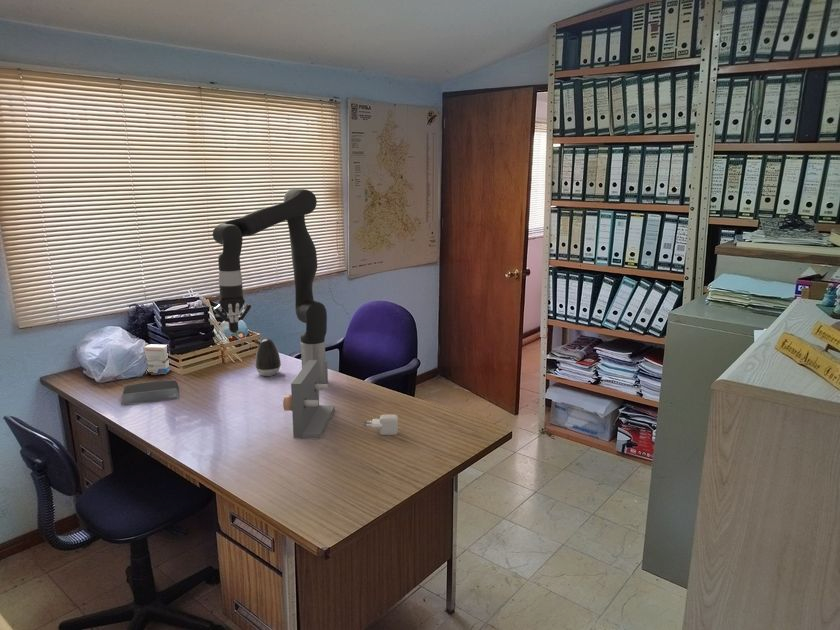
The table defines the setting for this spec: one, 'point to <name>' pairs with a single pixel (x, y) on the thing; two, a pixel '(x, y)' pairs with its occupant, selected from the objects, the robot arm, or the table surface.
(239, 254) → the robot arm
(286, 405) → the terracotta knob
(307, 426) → the knob mount
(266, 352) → the dark grey tapered speaker
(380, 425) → the power adapter
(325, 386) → the cream knob
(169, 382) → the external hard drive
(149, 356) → the ink box
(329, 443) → the table surface
